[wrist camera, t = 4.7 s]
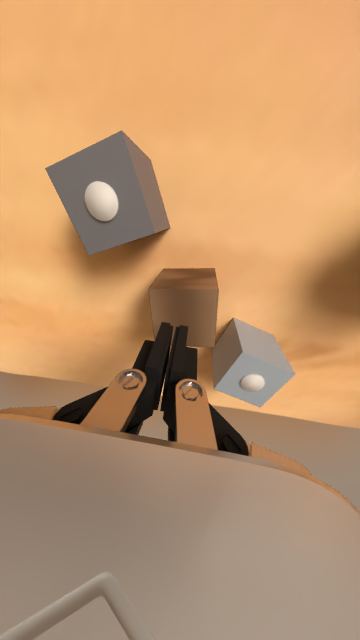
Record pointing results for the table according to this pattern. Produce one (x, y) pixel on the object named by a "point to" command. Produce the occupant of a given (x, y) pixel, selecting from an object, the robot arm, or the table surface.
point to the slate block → (249, 364)
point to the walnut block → (186, 303)
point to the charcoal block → (110, 193)
